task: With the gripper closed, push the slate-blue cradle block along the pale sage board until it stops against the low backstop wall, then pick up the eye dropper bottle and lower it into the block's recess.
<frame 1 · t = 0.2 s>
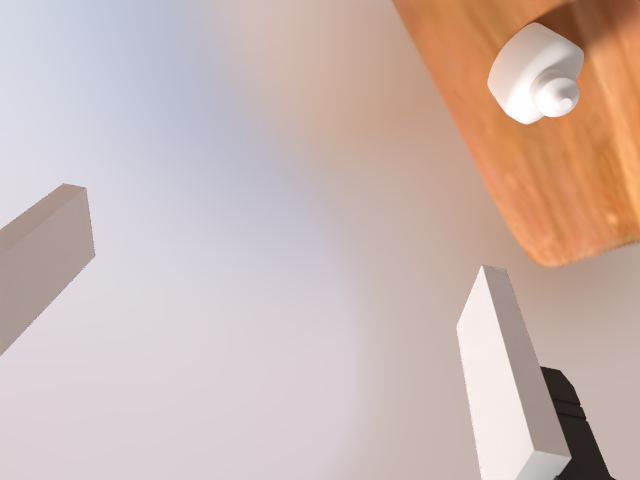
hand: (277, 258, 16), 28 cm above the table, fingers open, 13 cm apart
eye dropper bottle: (518, 59, 37), on the table
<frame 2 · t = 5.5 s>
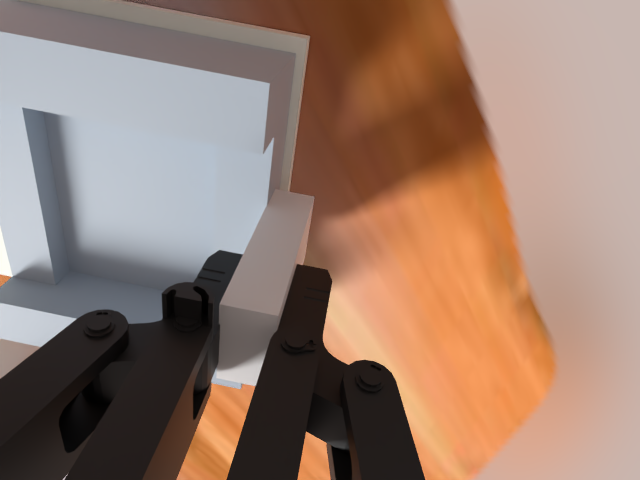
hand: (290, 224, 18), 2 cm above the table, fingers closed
eye dropper bottle: (34, 344, 26), on the table
cradle block: (132, 209, 17), point 3 cm above the table, slide at 7.0 cm, touching gripper
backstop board: (51, 157, 20), on the table
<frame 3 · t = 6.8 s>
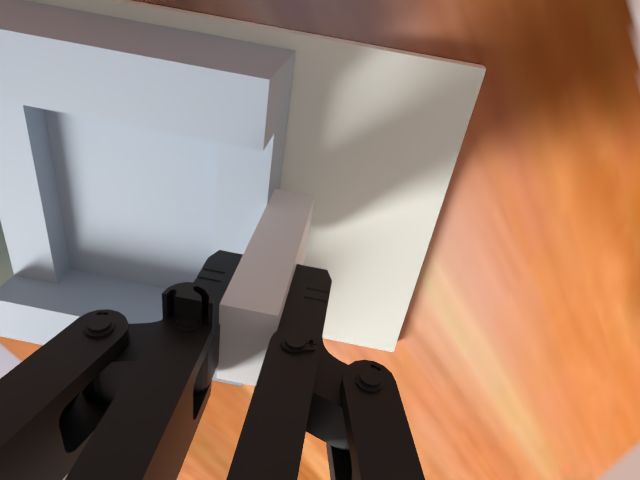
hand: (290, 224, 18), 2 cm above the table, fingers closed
cradle block: (133, 207, 17), point 3 cm above the table, slide at 1.1 cm, touching gripper
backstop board: (190, 182, 20), on the table
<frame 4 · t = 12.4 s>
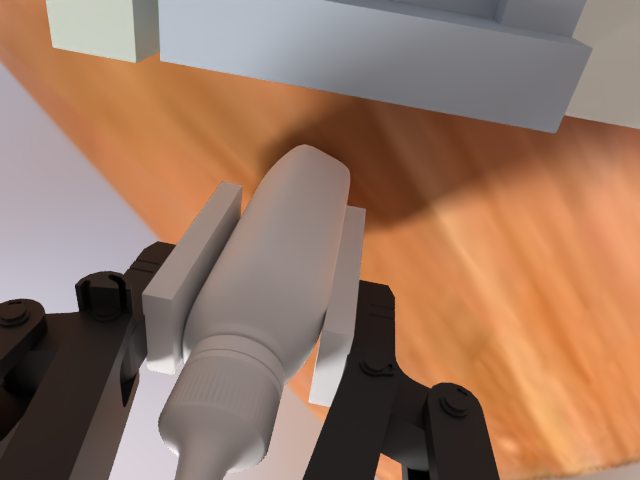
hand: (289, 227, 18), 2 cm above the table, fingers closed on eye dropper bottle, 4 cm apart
eye dropper bottle: (297, 204, 19), on the table, touching gripper
when the fingers open (5 cm above the table, at t = 17.1 s): eye dropper bottle drops 1 cm, resting on cradle block.
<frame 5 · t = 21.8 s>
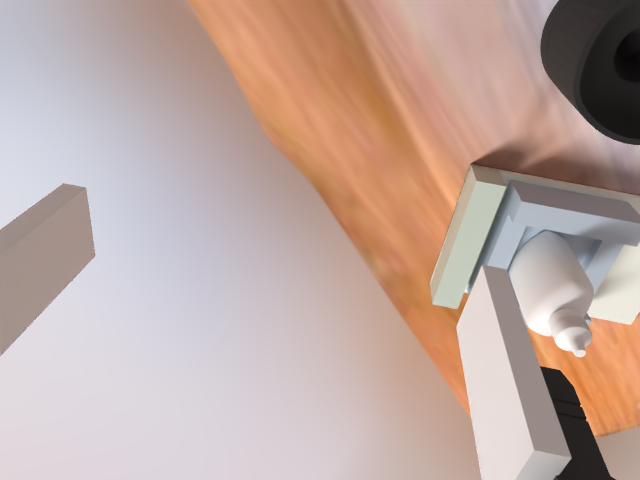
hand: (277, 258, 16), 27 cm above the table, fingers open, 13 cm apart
eye dropper bottle: (535, 254, 43), point 2 cm above the table, touching cradle block
cradle block: (547, 261, 42), point 3 cm above the table, slide at 0.8 cm, touching eye dropper bottle
pen holder: (601, 33, 35), on the table
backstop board: (555, 248, 44), on the table
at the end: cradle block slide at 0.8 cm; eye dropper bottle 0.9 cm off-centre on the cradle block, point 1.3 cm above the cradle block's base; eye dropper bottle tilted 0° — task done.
